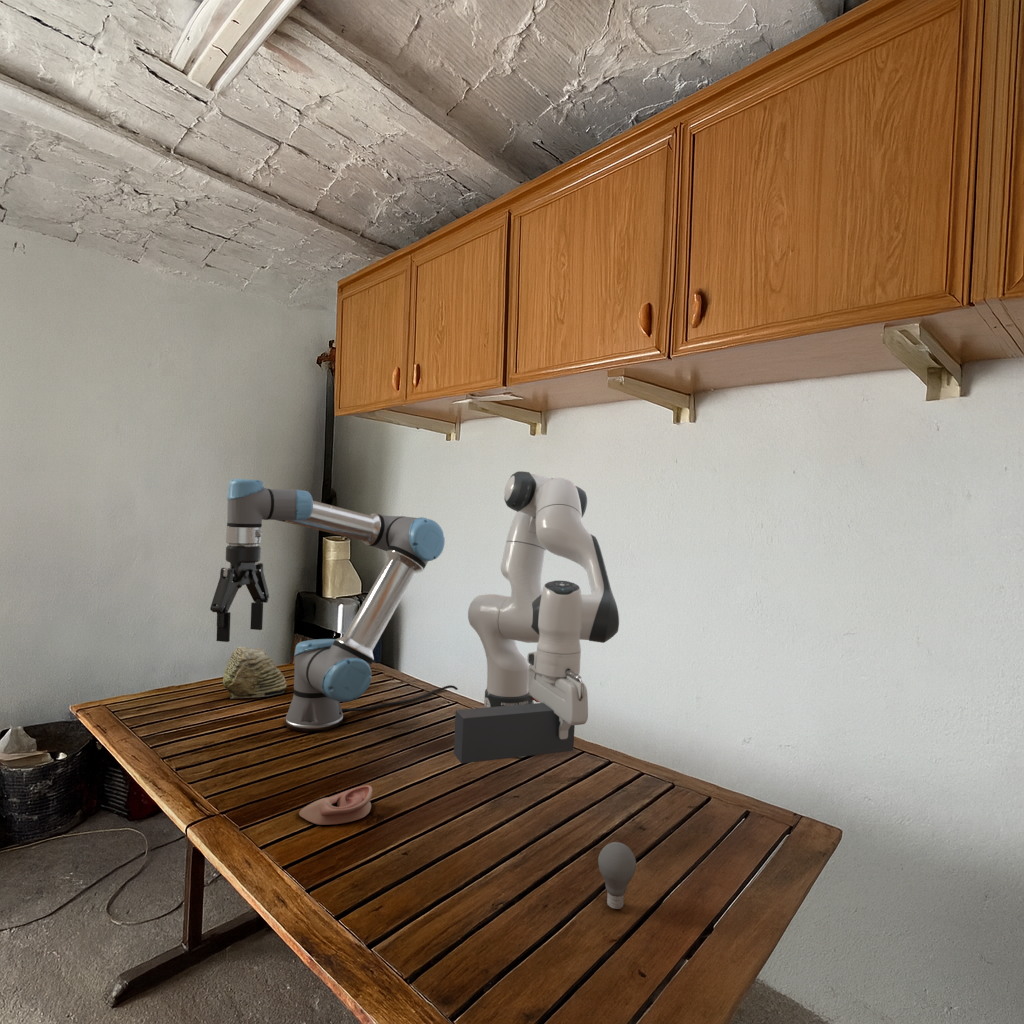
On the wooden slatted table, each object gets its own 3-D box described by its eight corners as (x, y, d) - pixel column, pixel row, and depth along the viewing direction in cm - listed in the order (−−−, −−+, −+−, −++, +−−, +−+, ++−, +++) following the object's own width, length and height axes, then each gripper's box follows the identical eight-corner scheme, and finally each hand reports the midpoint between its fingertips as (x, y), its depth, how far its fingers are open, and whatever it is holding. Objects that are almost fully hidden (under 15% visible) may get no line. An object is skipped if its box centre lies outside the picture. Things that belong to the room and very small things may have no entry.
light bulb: (592, 894, 104) (595, 834, 104) (628, 894, 104) (631, 834, 104) (600, 919, 98) (603, 855, 98) (638, 918, 99) (641, 855, 98)
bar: (461, 763, 117) (463, 718, 117) (453, 753, 121) (455, 709, 121) (573, 750, 126) (575, 708, 126) (562, 741, 130) (564, 700, 130)
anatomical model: (291, 800, 123) (320, 775, 134) (290, 820, 123) (320, 794, 134) (354, 810, 120) (379, 784, 132) (353, 830, 121) (378, 803, 132)
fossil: (218, 695, 195) (220, 647, 195) (278, 685, 208) (279, 640, 207) (228, 703, 189) (230, 653, 188) (289, 692, 201) (290, 645, 201)
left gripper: (226, 549, 136) (223, 648, 136) (285, 542, 160) (282, 626, 161) (194, 547, 137) (191, 645, 137) (257, 541, 161) (254, 623, 162)
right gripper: (598, 676, 118) (594, 750, 118) (550, 650, 137) (547, 714, 137) (568, 678, 116) (564, 753, 116) (523, 652, 135) (520, 716, 135)
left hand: (240, 635), depth 149 cm, fingers open, 13 cm apart
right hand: (554, 732), depth 127 cm, fingers closed on bar, 5 cm apart
